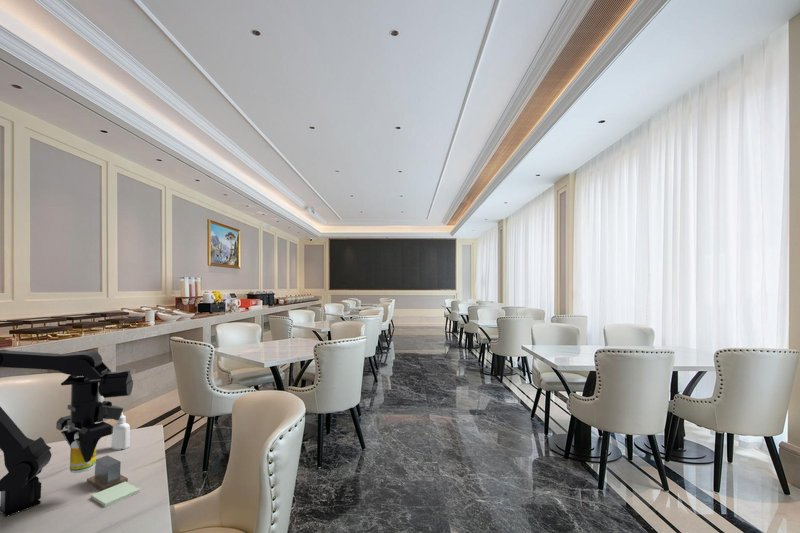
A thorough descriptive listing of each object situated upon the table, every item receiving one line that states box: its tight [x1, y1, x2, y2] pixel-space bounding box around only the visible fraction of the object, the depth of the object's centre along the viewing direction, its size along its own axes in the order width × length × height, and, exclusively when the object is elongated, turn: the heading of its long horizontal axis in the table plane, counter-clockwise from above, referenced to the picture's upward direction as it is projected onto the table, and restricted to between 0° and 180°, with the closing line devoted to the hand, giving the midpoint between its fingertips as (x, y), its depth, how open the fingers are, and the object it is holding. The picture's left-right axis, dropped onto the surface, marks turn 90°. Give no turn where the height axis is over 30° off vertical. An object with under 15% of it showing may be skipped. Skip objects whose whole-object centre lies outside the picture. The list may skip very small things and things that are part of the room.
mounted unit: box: [86, 454, 129, 491], centre depth 109 cm, size 6×10×6 cm, turn 59°
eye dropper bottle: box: [111, 411, 131, 451], centre depth 132 cm, size 4×6×12 cm
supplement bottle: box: [69, 432, 97, 474], centre depth 101 cm, size 5×5×10 cm
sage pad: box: [90, 481, 141, 508], centre depth 102 cm, size 8×8×1 cm
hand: (83, 459), depth 101 cm, fingers closed on supplement bottle, 5 cm apart
